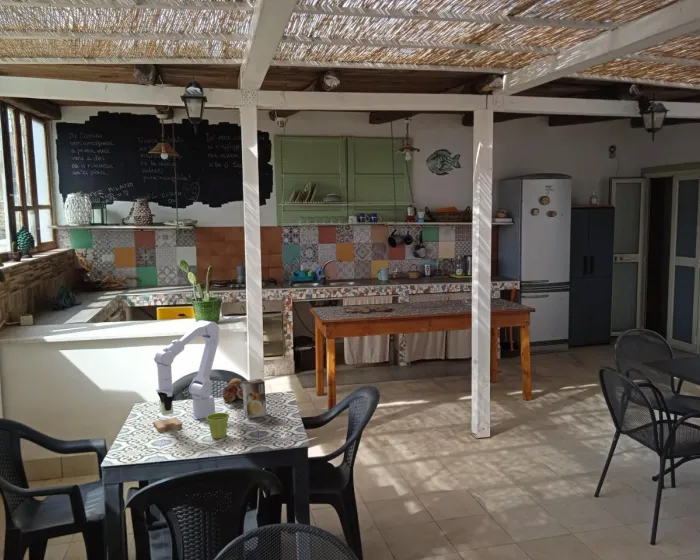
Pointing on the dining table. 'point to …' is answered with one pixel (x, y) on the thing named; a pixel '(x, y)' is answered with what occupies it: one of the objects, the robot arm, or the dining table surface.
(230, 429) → the dining table surface
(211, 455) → the dining table surface
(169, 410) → the sage cube
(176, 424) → the tan block
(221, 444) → the dining table surface
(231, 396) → the seed pod
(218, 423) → the plant pot
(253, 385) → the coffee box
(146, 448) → the dining table surface
